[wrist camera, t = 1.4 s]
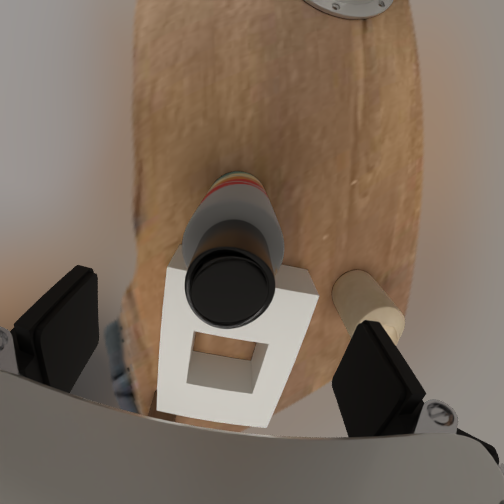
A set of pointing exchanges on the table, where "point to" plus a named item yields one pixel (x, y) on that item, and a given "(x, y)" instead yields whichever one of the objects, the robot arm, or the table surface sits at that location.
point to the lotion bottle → (232, 252)
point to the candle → (366, 304)
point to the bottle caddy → (225, 368)
